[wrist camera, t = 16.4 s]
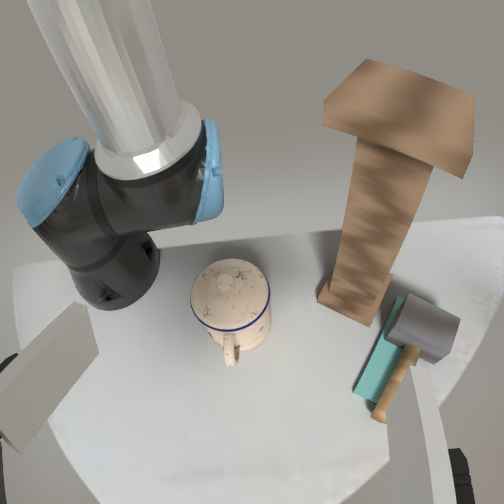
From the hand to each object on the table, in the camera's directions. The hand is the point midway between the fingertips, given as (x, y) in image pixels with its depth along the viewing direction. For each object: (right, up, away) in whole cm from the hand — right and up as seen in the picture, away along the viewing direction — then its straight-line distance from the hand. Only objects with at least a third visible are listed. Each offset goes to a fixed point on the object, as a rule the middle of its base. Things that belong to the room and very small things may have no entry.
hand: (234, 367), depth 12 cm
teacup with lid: (-1, -6, +31) cm, 31 cm away
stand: (+15, -1, +32) cm, 35 cm away
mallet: (+20, -11, +24) cm, 33 cm away
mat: (+20, -9, +26) cm, 34 cm away
